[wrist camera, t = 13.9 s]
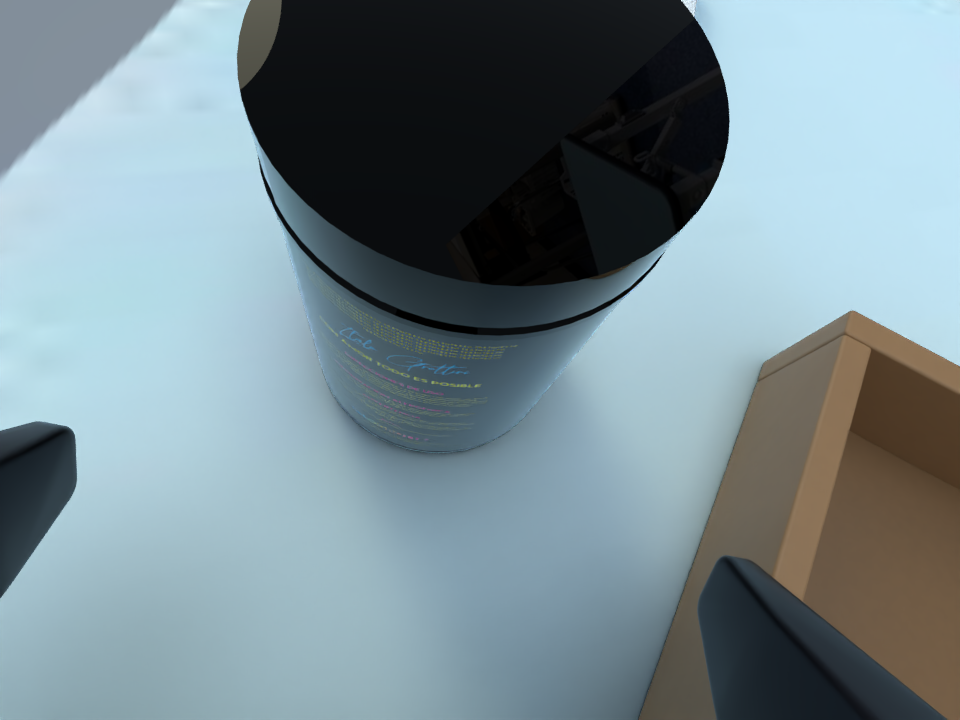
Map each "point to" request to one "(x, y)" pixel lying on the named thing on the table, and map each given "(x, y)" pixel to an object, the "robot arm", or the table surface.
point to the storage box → (841, 510)
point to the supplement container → (474, 187)
